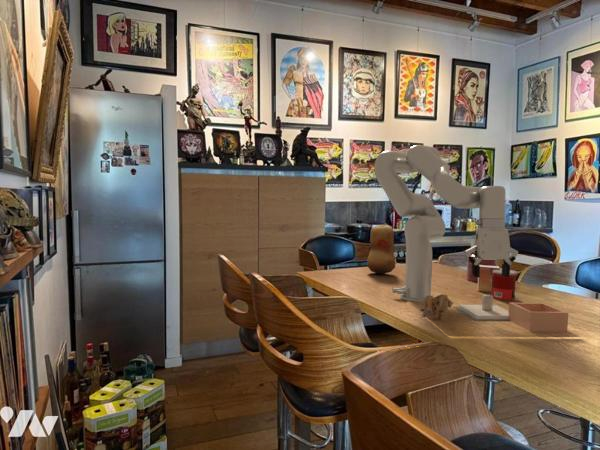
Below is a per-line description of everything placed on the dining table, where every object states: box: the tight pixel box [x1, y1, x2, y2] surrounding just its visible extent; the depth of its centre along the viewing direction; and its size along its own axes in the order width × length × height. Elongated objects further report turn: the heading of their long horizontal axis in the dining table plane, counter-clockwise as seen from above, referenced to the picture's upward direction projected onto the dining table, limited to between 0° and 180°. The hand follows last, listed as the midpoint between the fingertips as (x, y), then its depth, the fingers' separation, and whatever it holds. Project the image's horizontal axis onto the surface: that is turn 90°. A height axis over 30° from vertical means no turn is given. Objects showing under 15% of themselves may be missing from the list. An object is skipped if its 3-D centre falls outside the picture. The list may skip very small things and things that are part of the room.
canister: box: [466, 252, 498, 283], centre depth 190 cm, size 13×13×18 cm
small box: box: [477, 265, 501, 293], centre depth 168 cm, size 8×6×10 cm
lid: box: [458, 294, 509, 320], centre depth 131 cm, size 13×13×6 cm
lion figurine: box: [420, 294, 454, 321], centre depth 127 cm, size 15×5×9 cm, turn 14°
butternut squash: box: [366, 224, 396, 276], centre depth 201 cm, size 14×13×25 cm
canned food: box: [490, 269, 517, 302], centre depth 153 cm, size 8×8×11 cm
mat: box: [452, 306, 511, 322], centre depth 131 cm, size 16×16×1 cm
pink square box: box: [508, 302, 569, 333], centre depth 120 cm, size 11×11×6 cm
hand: (490, 276), depth 130 cm, fingers open, 9 cm apart
